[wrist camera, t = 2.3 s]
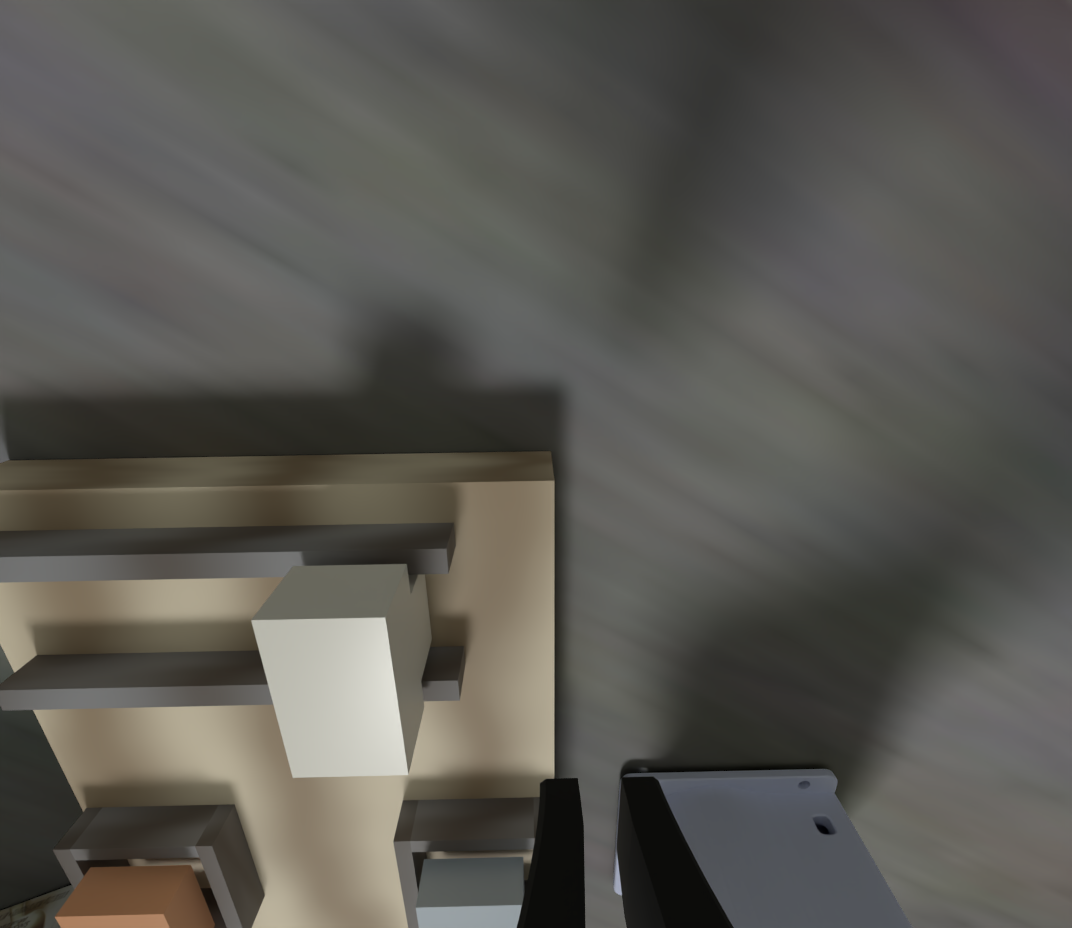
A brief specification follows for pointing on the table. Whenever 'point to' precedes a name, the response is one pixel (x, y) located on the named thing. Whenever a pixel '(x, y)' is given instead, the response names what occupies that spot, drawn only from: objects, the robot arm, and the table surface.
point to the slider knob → (346, 667)
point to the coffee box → (36, 911)
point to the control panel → (239, 678)
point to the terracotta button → (137, 899)
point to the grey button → (471, 893)
